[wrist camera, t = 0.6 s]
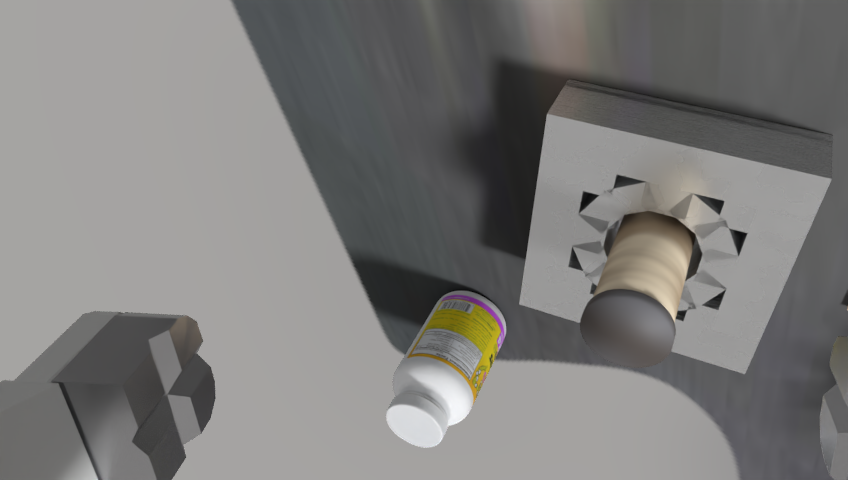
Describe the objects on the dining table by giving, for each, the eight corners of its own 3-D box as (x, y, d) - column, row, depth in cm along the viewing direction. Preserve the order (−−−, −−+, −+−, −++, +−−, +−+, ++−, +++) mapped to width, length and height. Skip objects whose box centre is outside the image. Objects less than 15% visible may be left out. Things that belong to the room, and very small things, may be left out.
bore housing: (568, 79, 49) (546, 113, 46) (832, 135, 44) (831, 178, 41) (538, 263, 59) (519, 304, 56) (751, 325, 55) (744, 374, 51)
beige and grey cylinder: (631, 175, 50) (587, 286, 42) (711, 195, 49) (683, 315, 40) (617, 236, 54) (573, 350, 45) (691, 256, 52) (661, 379, 43)
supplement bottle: (480, 355, 68) (423, 467, 59) (424, 309, 68) (358, 415, 59) (524, 323, 64) (470, 439, 55) (464, 274, 63) (400, 382, 54)
